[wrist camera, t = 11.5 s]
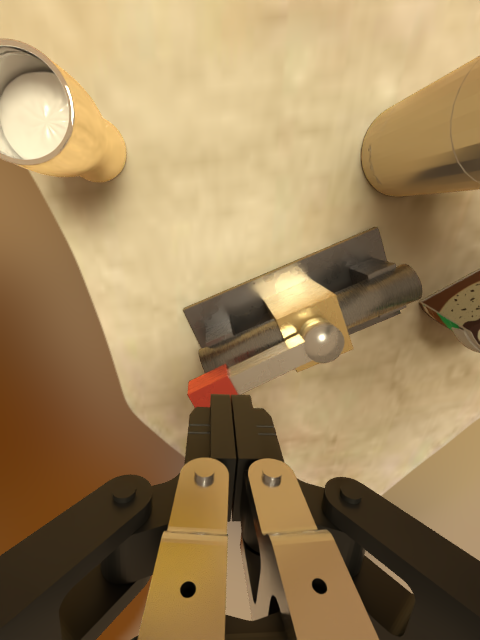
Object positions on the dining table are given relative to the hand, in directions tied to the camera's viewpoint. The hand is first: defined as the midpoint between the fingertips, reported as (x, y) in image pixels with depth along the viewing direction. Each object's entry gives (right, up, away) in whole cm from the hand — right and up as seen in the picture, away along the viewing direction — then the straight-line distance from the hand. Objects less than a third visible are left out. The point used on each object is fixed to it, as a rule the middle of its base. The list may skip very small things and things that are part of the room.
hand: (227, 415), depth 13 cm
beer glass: (-14, +21, +21) cm, 33 cm away
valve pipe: (+7, +5, +28) cm, 29 cm away
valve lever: (+3, 0, +20) cm, 20 cm away
